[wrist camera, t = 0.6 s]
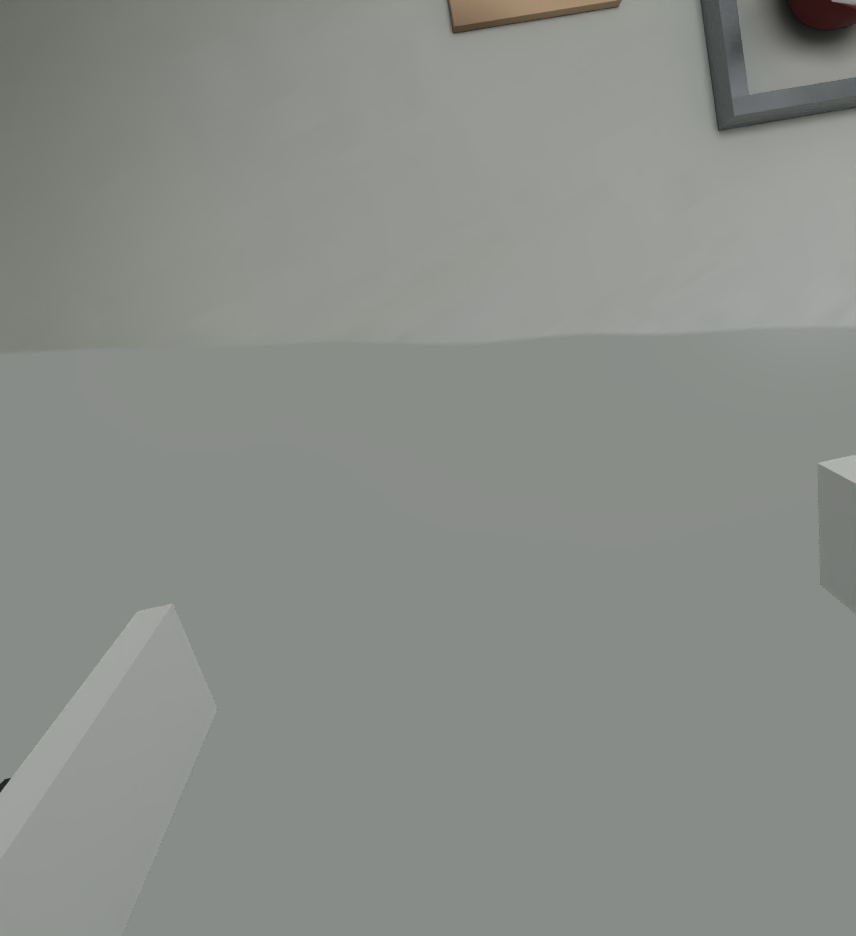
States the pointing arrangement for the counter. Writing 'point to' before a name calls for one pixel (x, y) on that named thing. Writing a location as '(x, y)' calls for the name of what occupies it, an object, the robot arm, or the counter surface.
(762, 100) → the ring stand
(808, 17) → the cocoa
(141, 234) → the counter surface
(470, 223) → the counter surface
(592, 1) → the walnut coaster
